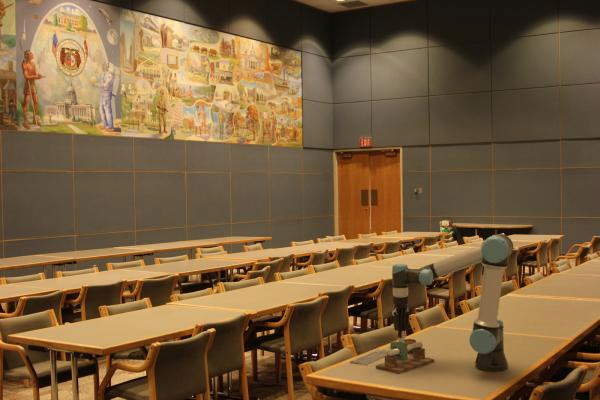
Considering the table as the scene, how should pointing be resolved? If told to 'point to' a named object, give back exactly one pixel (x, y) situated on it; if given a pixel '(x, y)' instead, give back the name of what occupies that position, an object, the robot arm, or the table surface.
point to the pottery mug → (410, 341)
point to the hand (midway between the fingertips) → (401, 344)
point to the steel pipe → (409, 348)
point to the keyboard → (370, 357)
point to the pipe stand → (405, 362)
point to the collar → (402, 348)
